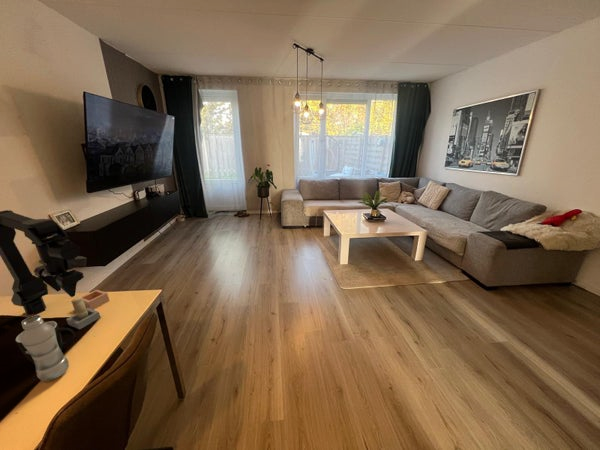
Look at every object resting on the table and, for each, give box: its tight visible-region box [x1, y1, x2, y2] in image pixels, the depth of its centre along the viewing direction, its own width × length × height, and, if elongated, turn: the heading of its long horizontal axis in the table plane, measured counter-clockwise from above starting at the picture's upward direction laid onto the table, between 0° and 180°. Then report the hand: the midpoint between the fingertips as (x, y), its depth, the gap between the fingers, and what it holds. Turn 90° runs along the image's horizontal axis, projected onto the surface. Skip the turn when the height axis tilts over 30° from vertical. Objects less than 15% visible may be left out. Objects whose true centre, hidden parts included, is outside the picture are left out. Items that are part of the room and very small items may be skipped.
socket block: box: [65, 308, 101, 330], centre depth 91 cm, size 7×7×4 cm
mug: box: [15, 320, 75, 365], centre depth 77 cm, size 12×9×10 cm
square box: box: [81, 289, 110, 310], centre depth 101 cm, size 7×7×5 cm
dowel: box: [71, 296, 89, 321], centre depth 90 cm, size 3×3×10 cm
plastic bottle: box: [20, 314, 70, 382], centre depth 68 cm, size 6×7×20 cm
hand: (65, 293), depth 89 cm, fingers open, 9 cm apart
